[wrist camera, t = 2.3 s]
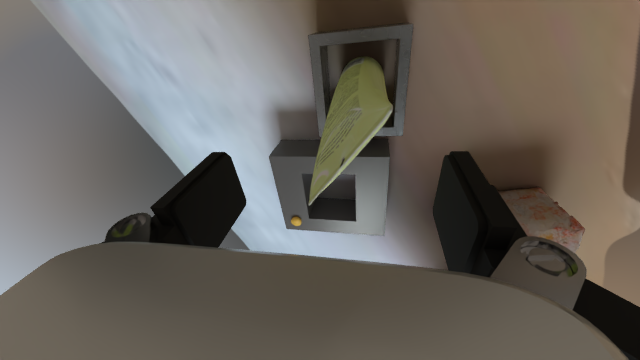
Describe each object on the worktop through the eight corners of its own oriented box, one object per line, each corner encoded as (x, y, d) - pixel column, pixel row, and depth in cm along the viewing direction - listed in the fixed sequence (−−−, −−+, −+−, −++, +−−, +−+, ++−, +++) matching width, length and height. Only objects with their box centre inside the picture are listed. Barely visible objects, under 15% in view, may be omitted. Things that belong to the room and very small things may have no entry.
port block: (388, 138, 32) (389, 158, 27) (383, 212, 39) (384, 238, 35) (281, 140, 35) (267, 158, 31) (295, 208, 42) (285, 230, 38)
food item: (552, 178, 31) (613, 236, 23) (539, 223, 35) (588, 286, 27) (435, 189, 35) (452, 241, 27) (436, 228, 39) (451, 284, 31)
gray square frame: (408, 22, 24) (413, 23, 21) (399, 122, 30) (402, 135, 27) (316, 32, 26) (308, 35, 23) (325, 124, 32) (319, 136, 29)
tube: (384, 103, 29) (392, 208, 14) (343, 107, 31) (306, 207, 15) (384, 51, 26) (393, 109, 11) (338, 58, 28) (285, 118, 12)
